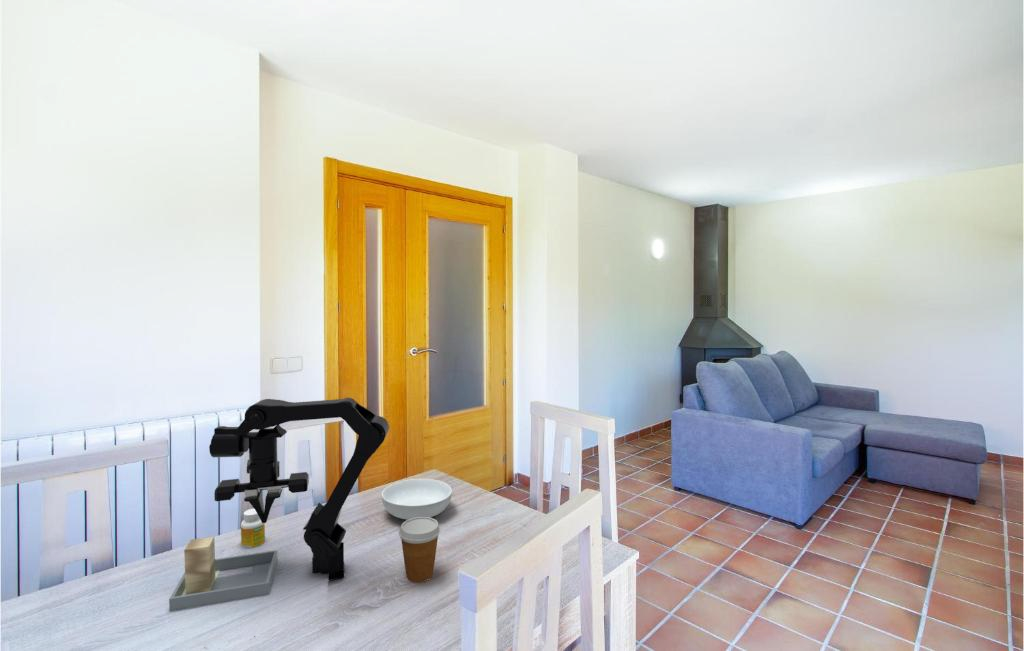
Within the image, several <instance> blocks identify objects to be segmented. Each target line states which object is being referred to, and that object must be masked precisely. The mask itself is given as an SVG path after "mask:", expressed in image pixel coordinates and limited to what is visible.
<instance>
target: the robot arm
mask: <svg viewBox="0 0 1024 651" xmlns="http://www.w3.org/2000/svg"><path fill="white" fill-rule="evenodd" d="M334 418H335V419H337V418H341V419H342V420H343V421H344V422H346V424H347V425H348V426H349V428H350V429H351V430H352V431H353V432H354V433H355V434H356V435H357V440H356V443H355V447H354V452H353V454H352V456H351V458H350V459H349V461H348V463H347V465H346V467H344V468H345V469H344V471H343V473H342V474H341V476H340V477H339V480H338V481H337V483H336V485H335V486H334V488H333V490H332V492H331V494H330V496H329V498H328V500H327V501H326V502H325V504H324V505H323V504H322V503H320V502H318V503H317V505H316V506H315V508H314V510H313V511H312V512H311V514H310V517H309V519H308V521H307V522H306V523H305V525H304V526H303V529H302V530H303V531H304V534H303V540H304V542H305V544H306V545H307V546H308V547H310V548H309V549H310V550H311V552H312V559H311V570H312V571H311V573H312V574H321V575H328V577H327V580H328V581H333V580H339V579H343V578H345V554H344V553H345V550H344V549H345V546H344V545H345V544H344V542H343V540H344V538H345V536H346V532H347V530H346V528H344V527H343V526H342V525H341V524H339V523H338V521H339V519H340V515H341V512H342V509H343V506H344V504H345V502H346V500H347V499H348V497H349V495H350V493H351V491H352V489H353V488H354V485H356V482H357V481H358V478H359V477H360V475H361V473H362V472H363V469H364V467H365V466H366V463H367V462H368V461H369V459H370V458H371V457H372V456H373V455H374V453H375V454H376V451H377V450H378V449H379V448H380V447H381V445H382V444H383V443H384V441H385V440H386V438H387V435H388V433H389V431H390V425H389V422H388V421H387V419H386V418H384V417H383V416H380V415H377V414H375V413H374V412H373V411H371V410H370V409H368V408H367V407H365V406H363V405H361V404H360V403H358V402H357V401H356V400H355V399H354V398H352V397H345V398H341V399H339V398H338V399H323V400H310V401H299V402H297V401H296V402H295V401H294V402H293V401H285V400H284V399H275V398H274V399H272V398H265V399H261V400H259V401H257V402H255V403H254V404H252V405H250V406H248V408H247V409H246V410H245V412H244V419H243V420H242V421H241V423H240V424H239V426H225V425H219V426H217V427H215V428H214V430H213V433H214V434H212V436H211V437H212V438H211V441H210V444H209V447H208V449H209V455H210V457H212V458H241V457H243V455H244V454H245V453H247V452H248V459H247V462H246V474H249V482H243V483H241V481H240V478H233V479H232V478H231V479H222V480H221V481H220V482H218V485H217V486H216V487H215V489H214V492H213V494H214V501H215V502H223V501H231V500H232V499H233V498H234V497H235V496H236V495H235V494H239V493H244V496H245V497H244V499H243V501H244V502H246V503H247V502H248V503H249V504H250V505H251V507H253V508H252V509H255V510H256V512H257V514H258V516H259V518H260V520H261V522H262V523H265V524H266V523H267V522H268V518H269V516H270V515H269V514H270V512H271V509H272V506H273V503H274V502H275V500H276V499H280V498H281V496H282V492H283V489H285V488H288V491H289V492H290V493H292V494H298V493H303V492H304V493H305V492H307V491H308V489H309V484H310V477H309V476H310V475H309V473H308V472H306V471H304V472H303V471H302V472H293V473H290V474H289V478H282V479H278V478H280V461H278V438H282V437H284V436H285V434H287V432H288V431H287V430H286V429H285V428H284V427H282V426H281V424H284V423H288V422H297V421H299V422H300V421H310V420H322V419H323V420H324V419H334ZM272 427H273V428H272ZM253 430H257V431H253ZM264 491H267V493H266V496H265V499H264V498H263V496H264V495H263V493H264ZM264 500H265V502H264Z"/></svg>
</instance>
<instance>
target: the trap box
mask: <svg viewBox="0 0 1024 651" xmlns="http://www.w3.org/2000/svg"><path fill="white" fill-rule="evenodd" d="M277 564H278V550H277V549H275V550H269V551H268V550H267V551H263V552H262V551H261V552H255V553H247V554H242V555H234V556H228V557H221V558H215V582H214V585H213V587H212V589H211V591H207V592H201V593H194V594H188V595H186V588H185V572H184V573H182V574H183V575H182V576H181V578H180V580H179V582H178V583H177V585H176V587H175V588H174V589H173V592H172V594H171V595H170V597H169V599H168V604H169V612H175V611H180V610H185V609H192V608H197V607H204V606H209V605H214V604H215V605H216V604H220V603H226V602H227V603H228V602H233V601H238V600H244V599H245V600H246V599H251V598H255V597H256V598H257V597H263V596H268V595H269V594H270V591H271V588H272V583H273V580H274V575H275V572H276V568H277ZM251 566H253V567H252V569H251V571H250V572H245V573H239V574H233V575H227V576H220V577H218V576H219V573H220V571H225V570H230V569H231V570H232V569H238V568H245V567H251Z"/></svg>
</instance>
